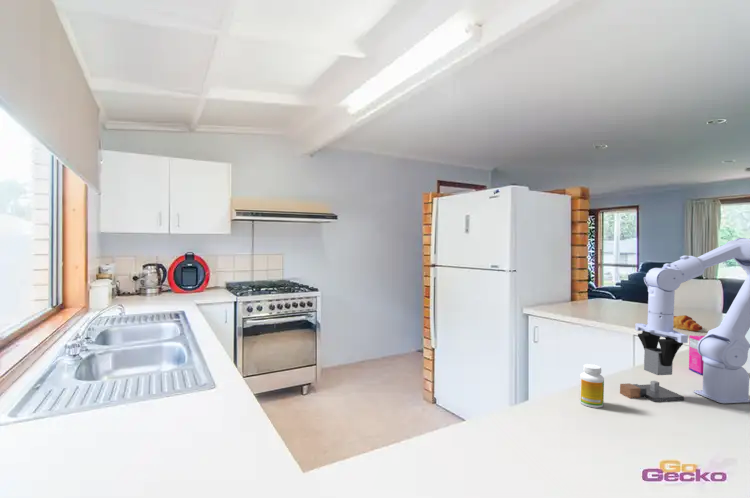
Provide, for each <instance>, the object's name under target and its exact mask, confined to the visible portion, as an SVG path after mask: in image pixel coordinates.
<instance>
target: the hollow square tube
mask: <svg viewBox="0 0 750 498" xmlns="http://www.w3.org/2000/svg"><path fill="white" fill-rule="evenodd" d="M643 361H644V362H643V371H645V372H648V373H651V374H654V375H655V376H671V375H672V376H673V362H672V365H671V366H663V365H662V353H661V347H657V348H645V350H644V360H643Z"/></svg>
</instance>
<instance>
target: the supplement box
mask: <svg viewBox="0 0 750 498" xmlns="http://www.w3.org/2000/svg"><path fill="white" fill-rule="evenodd" d="M705 336H706V335H688V341H689V345H688V347H689V348H688V349H689V350H688V370H689V371H692V372H694V373H696V374H698V375H700V376H703V364H704V361H703V360H702V356H701V355H700V354H699V353H698V350H697V344H698V342H699V341H700V339H702V338H703V337H705Z"/></svg>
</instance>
